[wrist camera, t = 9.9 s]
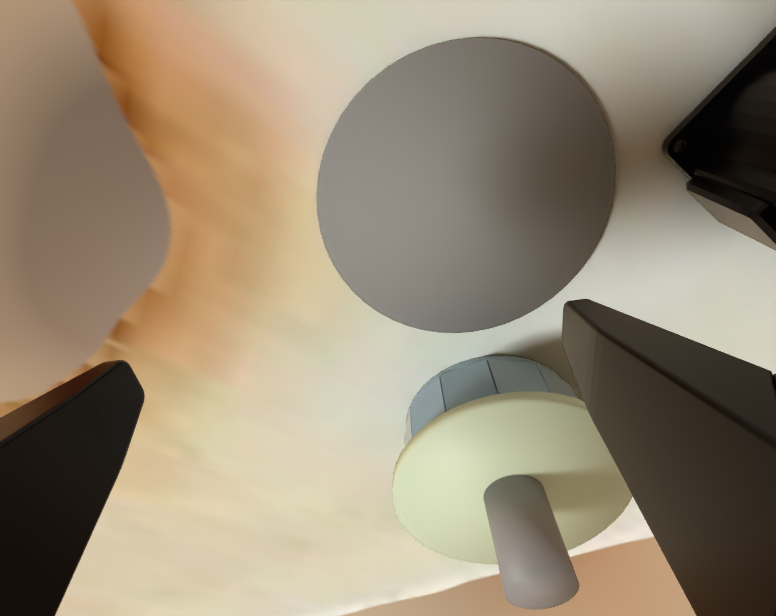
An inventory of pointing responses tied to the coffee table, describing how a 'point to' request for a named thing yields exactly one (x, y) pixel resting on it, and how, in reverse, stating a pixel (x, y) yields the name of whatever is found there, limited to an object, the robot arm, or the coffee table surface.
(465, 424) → the lid
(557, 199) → the mat
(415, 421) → the bowl
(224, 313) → the coffee table surface
